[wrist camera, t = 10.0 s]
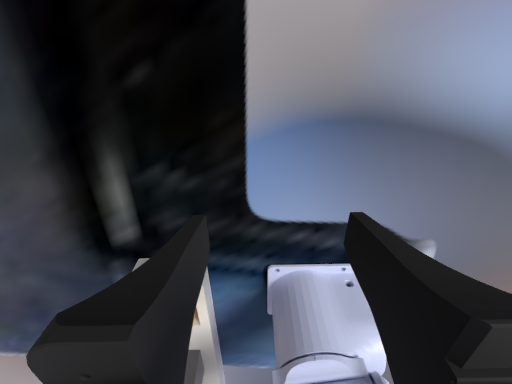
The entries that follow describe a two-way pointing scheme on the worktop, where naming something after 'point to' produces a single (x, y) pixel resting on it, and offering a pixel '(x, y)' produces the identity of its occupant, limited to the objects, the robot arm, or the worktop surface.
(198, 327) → the pdu strip
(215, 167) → the worktop surface
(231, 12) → the worktop surface
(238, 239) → the worktop surface
